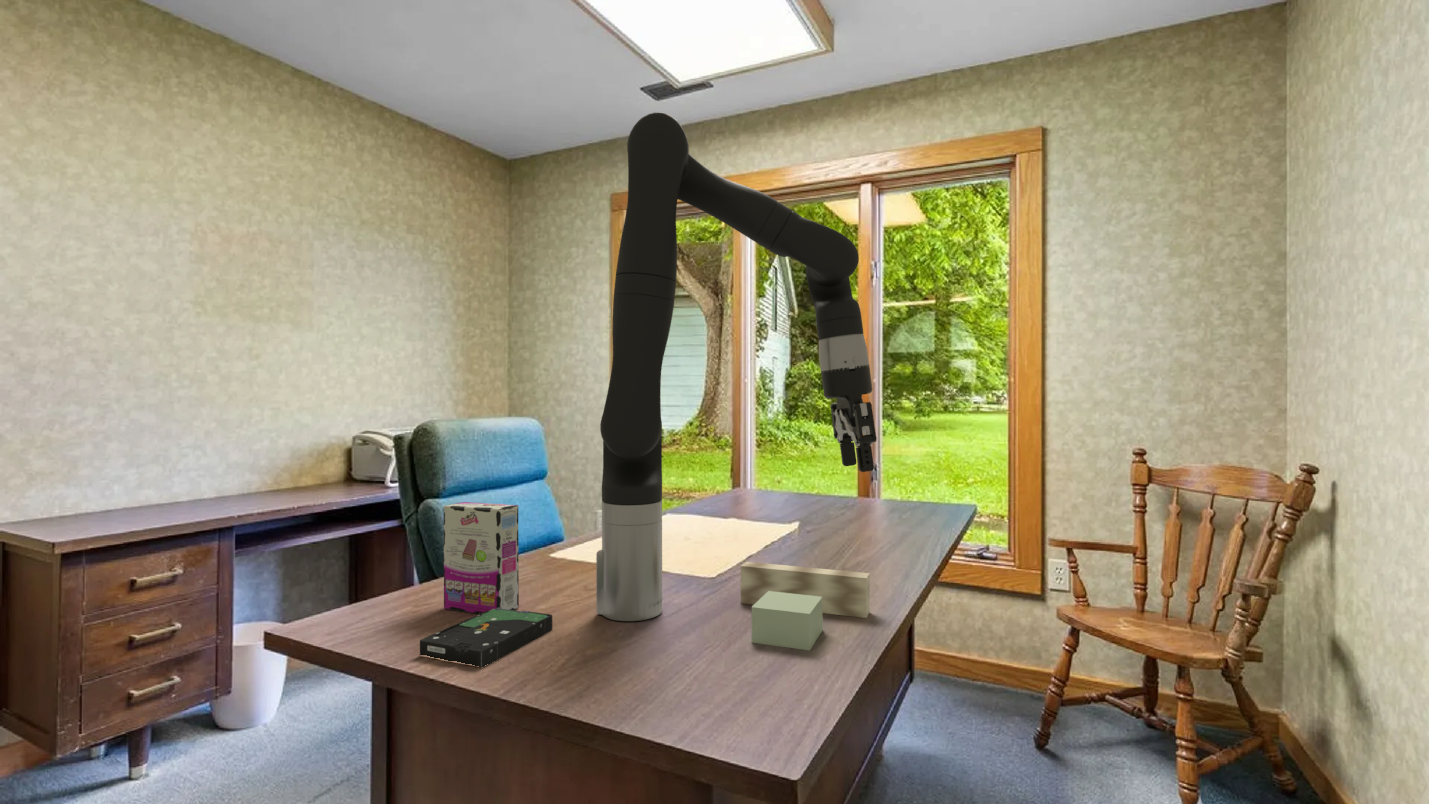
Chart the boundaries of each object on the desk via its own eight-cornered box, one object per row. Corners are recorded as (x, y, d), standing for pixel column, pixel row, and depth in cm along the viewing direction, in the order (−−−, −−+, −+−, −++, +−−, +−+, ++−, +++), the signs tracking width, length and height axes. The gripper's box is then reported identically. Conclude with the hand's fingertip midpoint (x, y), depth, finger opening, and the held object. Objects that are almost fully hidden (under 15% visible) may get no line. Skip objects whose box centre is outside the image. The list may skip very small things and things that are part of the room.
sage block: (751, 643, 90) (751, 607, 90) (768, 625, 97) (768, 590, 97) (809, 651, 87) (809, 613, 87) (822, 631, 94) (822, 596, 94)
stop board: (740, 603, 107) (740, 565, 107) (746, 597, 110) (746, 561, 110) (866, 618, 99) (866, 578, 99) (869, 612, 102) (869, 573, 102)
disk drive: (483, 673, 81) (554, 632, 95) (483, 651, 81) (553, 612, 95) (417, 661, 85) (495, 623, 99) (417, 640, 85) (494, 604, 99)
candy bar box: (520, 608, 104) (520, 504, 104) (499, 618, 100) (498, 509, 100) (465, 600, 109) (464, 500, 109) (441, 609, 104) (441, 504, 104)
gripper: (810, 371, 111) (823, 467, 111) (833, 366, 97) (848, 476, 97) (854, 365, 112) (866, 461, 112) (883, 360, 97) (897, 469, 98)
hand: (857, 468), depth 104 cm, fingers open, 8 cm apart
